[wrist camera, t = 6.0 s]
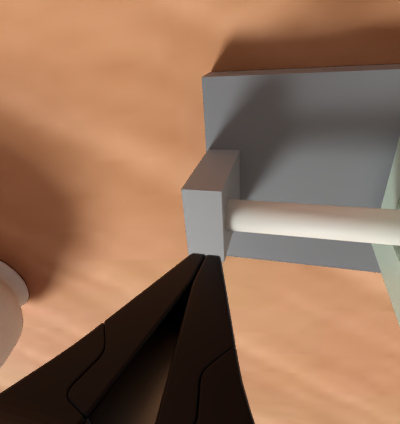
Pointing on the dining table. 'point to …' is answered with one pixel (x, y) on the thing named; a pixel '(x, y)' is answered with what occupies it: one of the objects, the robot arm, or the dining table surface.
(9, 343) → the teacup
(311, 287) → the dining table surface
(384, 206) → the sleeve
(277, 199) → the board
